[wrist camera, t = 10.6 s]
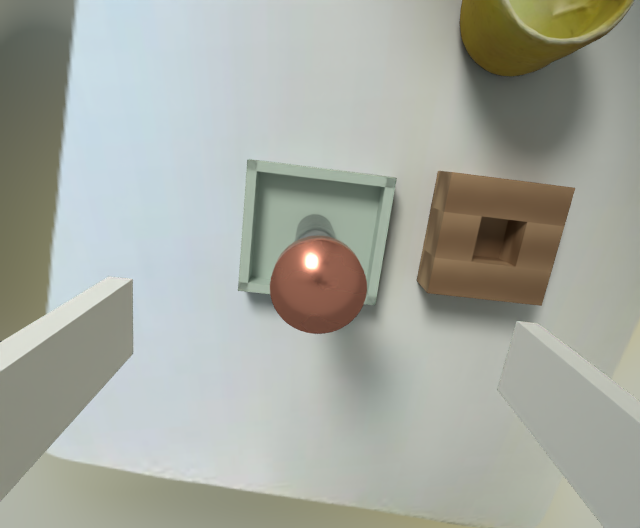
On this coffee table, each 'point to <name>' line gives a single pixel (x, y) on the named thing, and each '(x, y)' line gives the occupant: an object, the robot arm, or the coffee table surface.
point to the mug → (533, 30)
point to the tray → (305, 199)
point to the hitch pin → (317, 280)
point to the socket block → (492, 237)
